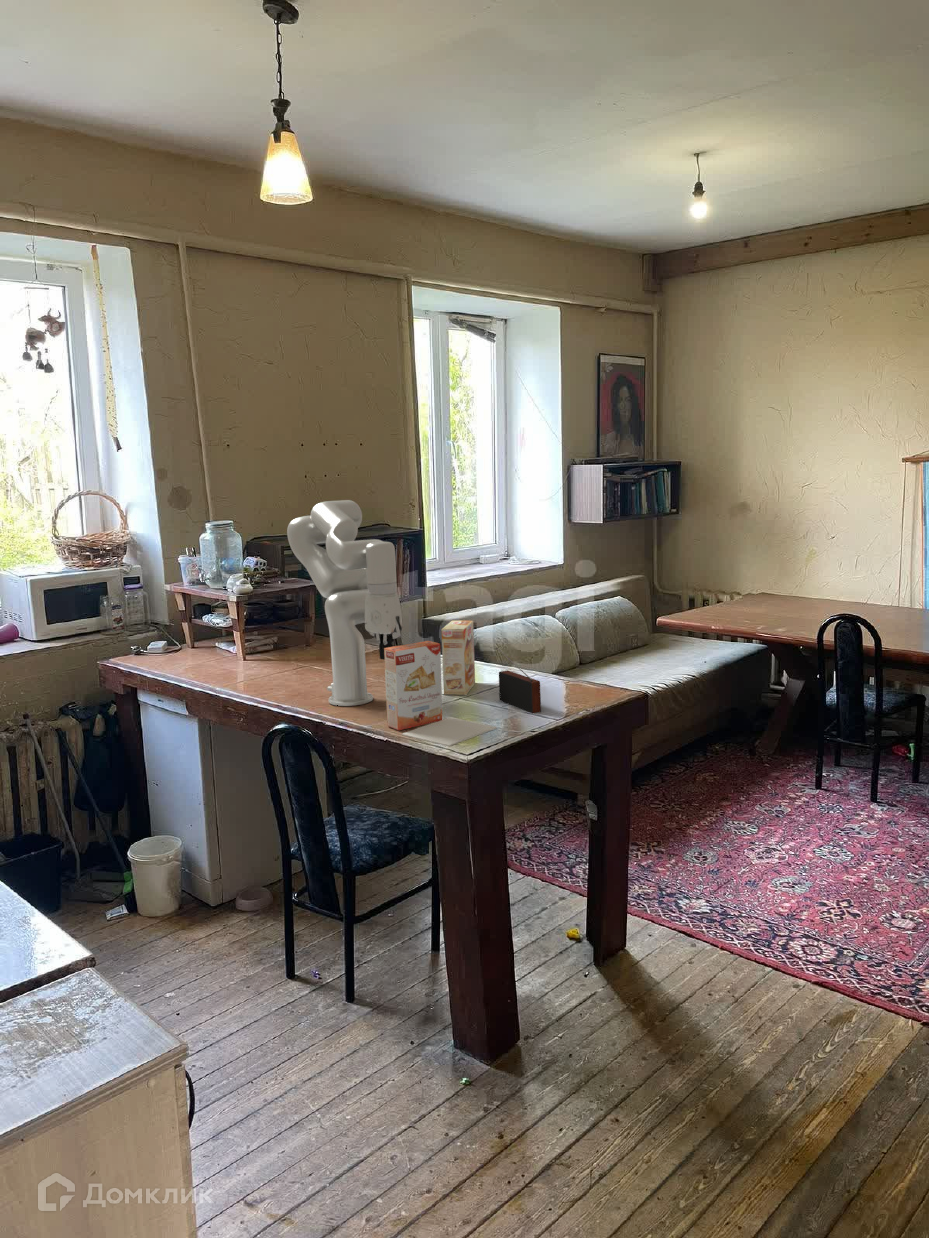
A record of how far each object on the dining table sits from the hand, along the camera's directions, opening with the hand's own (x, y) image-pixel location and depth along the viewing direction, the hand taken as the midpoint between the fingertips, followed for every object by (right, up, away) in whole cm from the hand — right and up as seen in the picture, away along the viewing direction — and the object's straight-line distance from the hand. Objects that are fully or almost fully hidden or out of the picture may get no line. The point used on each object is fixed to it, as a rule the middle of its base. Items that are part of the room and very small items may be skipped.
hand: (386, 658), depth 240 cm
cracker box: (+8, -17, -4) cm, 19 cm away
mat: (+17, -18, -11) cm, 27 cm away
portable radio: (+35, -14, +10) cm, 39 cm away
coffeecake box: (+19, -11, +31) cm, 38 cm away
